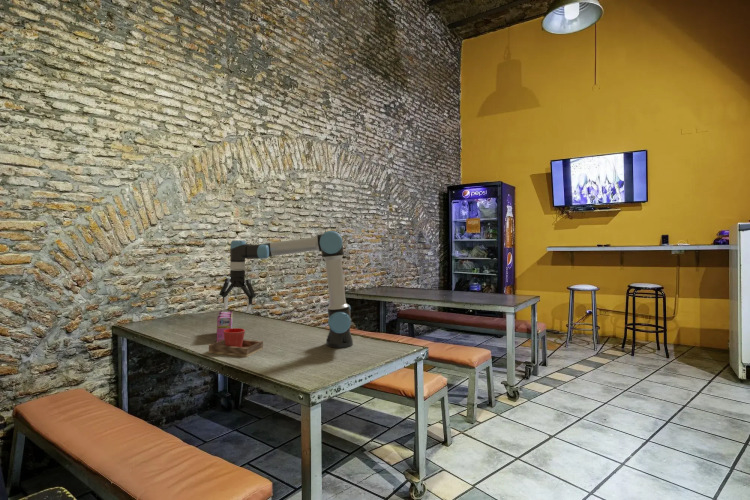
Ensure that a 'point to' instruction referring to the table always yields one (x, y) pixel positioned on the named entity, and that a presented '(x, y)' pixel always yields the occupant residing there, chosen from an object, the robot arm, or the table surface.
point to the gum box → (223, 324)
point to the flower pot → (234, 337)
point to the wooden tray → (236, 348)
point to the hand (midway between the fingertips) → (237, 309)
